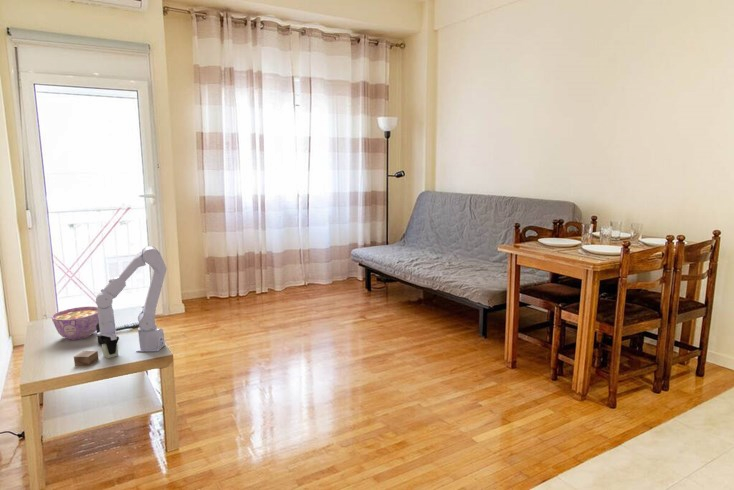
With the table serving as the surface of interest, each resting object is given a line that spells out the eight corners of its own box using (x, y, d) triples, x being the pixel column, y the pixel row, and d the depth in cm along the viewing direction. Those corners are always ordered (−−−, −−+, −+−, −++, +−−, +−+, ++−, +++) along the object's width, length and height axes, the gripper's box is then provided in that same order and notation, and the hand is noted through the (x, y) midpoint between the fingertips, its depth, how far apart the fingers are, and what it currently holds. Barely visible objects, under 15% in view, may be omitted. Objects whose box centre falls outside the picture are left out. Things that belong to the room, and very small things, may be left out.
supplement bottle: (96, 346, 212) (92, 320, 210) (100, 340, 219) (97, 315, 217) (113, 344, 214) (110, 318, 212) (116, 338, 220) (113, 313, 218)
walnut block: (98, 360, 197) (97, 350, 197) (89, 366, 191) (88, 356, 191) (84, 360, 198) (83, 350, 197) (74, 366, 192) (73, 356, 191)
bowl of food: (65, 348, 211) (62, 322, 209) (47, 338, 223) (43, 314, 221) (112, 334, 226) (109, 310, 224) (92, 326, 238) (89, 304, 236)
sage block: (114, 352, 204) (113, 341, 204) (118, 355, 201) (117, 343, 200) (103, 355, 201) (101, 344, 201) (106, 358, 198) (105, 347, 197)
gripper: (90, 319, 201) (94, 350, 203) (101, 327, 191) (105, 359, 193) (109, 315, 206) (112, 345, 208) (120, 323, 196) (124, 354, 198)
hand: (110, 352), depth 201 cm, fingers closed on sage block, 4 cm apart
